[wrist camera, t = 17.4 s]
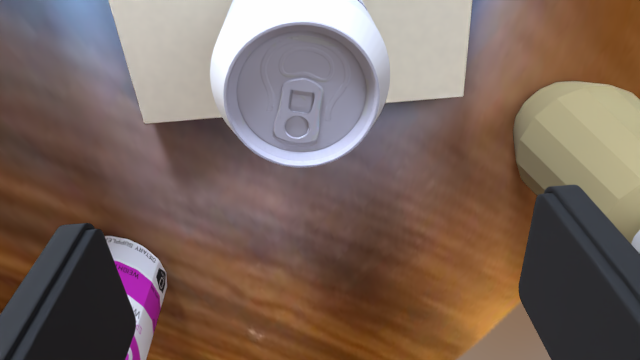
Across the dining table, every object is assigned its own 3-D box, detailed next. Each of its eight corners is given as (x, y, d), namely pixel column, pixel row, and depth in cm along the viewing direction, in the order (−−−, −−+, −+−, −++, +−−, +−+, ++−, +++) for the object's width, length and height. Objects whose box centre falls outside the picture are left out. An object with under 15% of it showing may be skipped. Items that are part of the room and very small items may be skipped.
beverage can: (370, -42, 26) (422, 18, 16) (345, 80, 30) (374, 191, 20) (240, -66, 25) (208, -18, 15) (230, 63, 29) (198, 171, 19)
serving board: (475, -130, 26) (485, -129, 24) (456, 87, 32) (463, 97, 31) (90, -98, 25) (80, -96, 24) (149, 114, 32) (144, 124, 31)
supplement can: (114, 212, 36) (20, 400, 23) (190, 279, 40) (145, 471, 27) (37, 261, 38) (-87, 458, 25) (117, 320, 42) (43, 516, 29)
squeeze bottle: (524, 189, 37) (688, 416, 22) (475, 111, 33) (631, 319, 18) (630, 128, 35) (897, 335, 19) (590, 37, 31) (881, 206, 16)
